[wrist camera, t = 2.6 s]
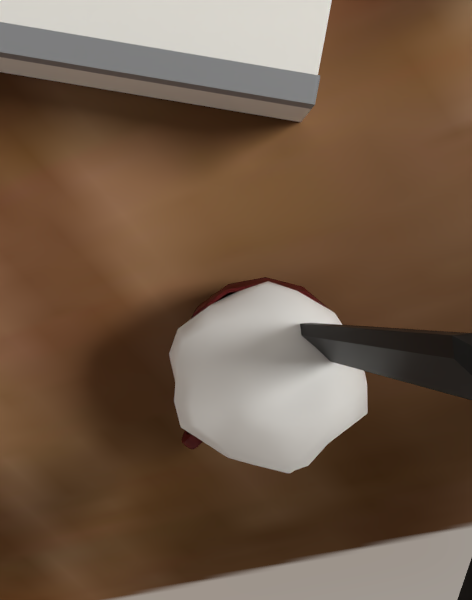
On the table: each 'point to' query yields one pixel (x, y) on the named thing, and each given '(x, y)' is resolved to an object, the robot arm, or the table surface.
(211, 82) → the cleat board
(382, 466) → the table surface
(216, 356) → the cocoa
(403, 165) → the table surface
